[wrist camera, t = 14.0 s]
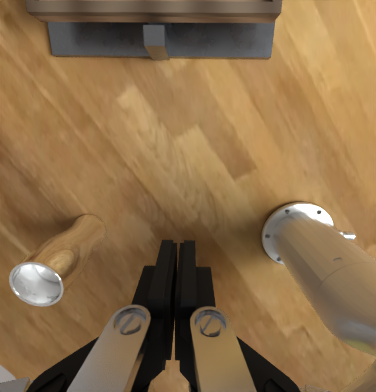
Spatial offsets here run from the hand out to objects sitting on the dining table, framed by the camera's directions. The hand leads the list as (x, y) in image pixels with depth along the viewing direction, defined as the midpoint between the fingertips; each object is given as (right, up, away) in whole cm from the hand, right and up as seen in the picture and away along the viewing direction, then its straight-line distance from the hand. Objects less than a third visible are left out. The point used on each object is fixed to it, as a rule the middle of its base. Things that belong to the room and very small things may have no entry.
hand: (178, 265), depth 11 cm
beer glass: (-18, -3, +30) cm, 35 cm away
